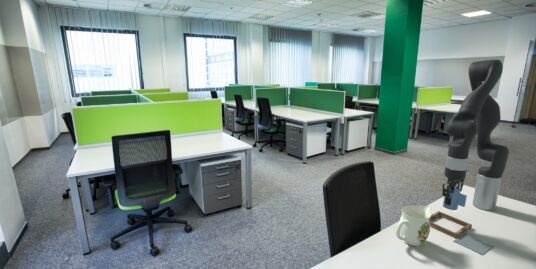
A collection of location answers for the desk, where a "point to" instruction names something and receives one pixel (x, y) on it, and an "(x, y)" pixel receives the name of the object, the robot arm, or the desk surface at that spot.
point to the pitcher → (414, 225)
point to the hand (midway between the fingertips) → (450, 202)
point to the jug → (456, 200)
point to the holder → (446, 231)
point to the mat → (473, 244)
